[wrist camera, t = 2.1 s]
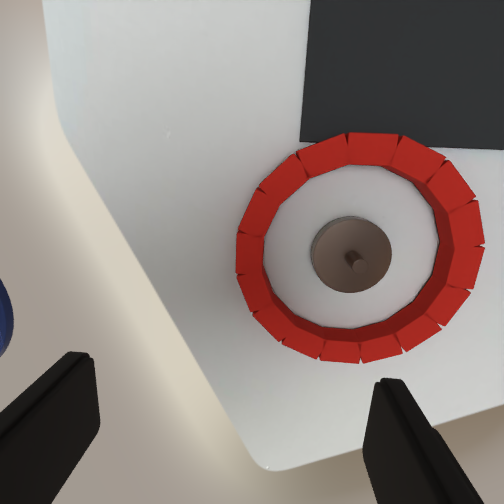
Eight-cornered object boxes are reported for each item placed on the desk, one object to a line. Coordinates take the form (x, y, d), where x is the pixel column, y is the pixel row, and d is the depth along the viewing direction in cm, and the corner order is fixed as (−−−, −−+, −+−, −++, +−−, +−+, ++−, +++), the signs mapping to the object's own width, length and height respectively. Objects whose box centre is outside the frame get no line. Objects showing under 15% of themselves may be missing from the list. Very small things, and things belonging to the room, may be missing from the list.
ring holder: (307, 284, 27) (313, 303, 23) (314, 214, 26) (321, 222, 22) (379, 288, 27) (396, 308, 23) (391, 218, 25) (412, 227, 21)
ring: (236, 340, 29) (233, 354, 27) (242, 130, 24) (239, 127, 22) (437, 356, 28) (450, 371, 26) (493, 140, 23) (516, 138, 21)
